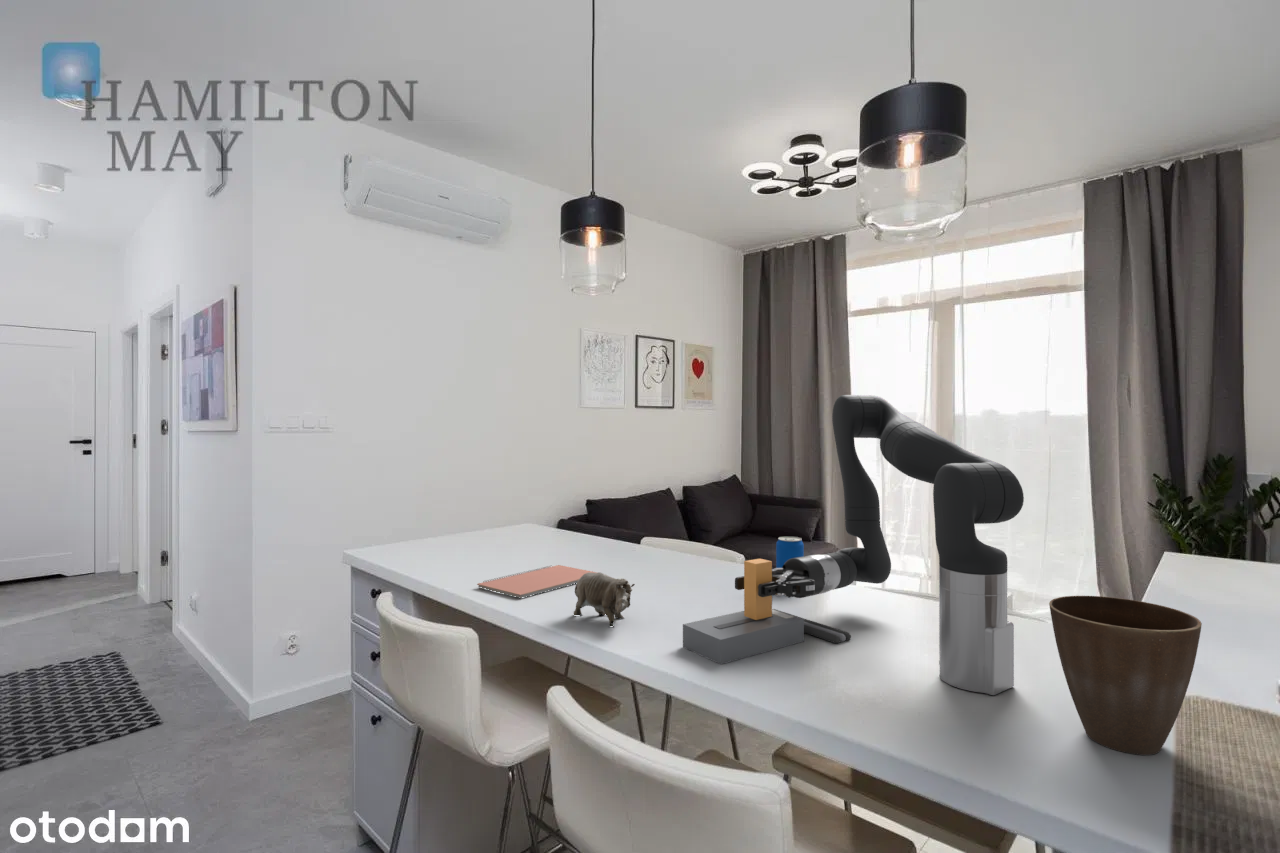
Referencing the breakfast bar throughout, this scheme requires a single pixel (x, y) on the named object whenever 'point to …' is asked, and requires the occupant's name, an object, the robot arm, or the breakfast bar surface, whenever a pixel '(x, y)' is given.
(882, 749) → the breakfast bar surface
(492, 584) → the notebook
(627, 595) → the rhinoceros figurine
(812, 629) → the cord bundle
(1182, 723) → the breakfast bar surface
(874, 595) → the breakfast bar surface
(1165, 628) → the plant pot
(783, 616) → the breaker box
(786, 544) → the beverage can
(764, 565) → the handle
